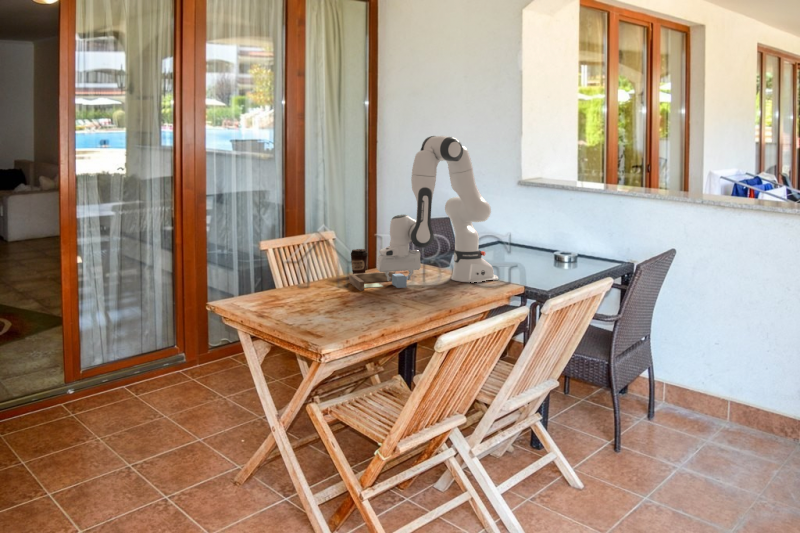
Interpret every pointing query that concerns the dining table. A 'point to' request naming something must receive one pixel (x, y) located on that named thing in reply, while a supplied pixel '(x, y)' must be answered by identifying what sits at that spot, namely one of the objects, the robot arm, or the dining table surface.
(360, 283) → the brown l-shaped corner fence
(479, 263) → the robot arm
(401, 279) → the block
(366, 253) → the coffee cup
